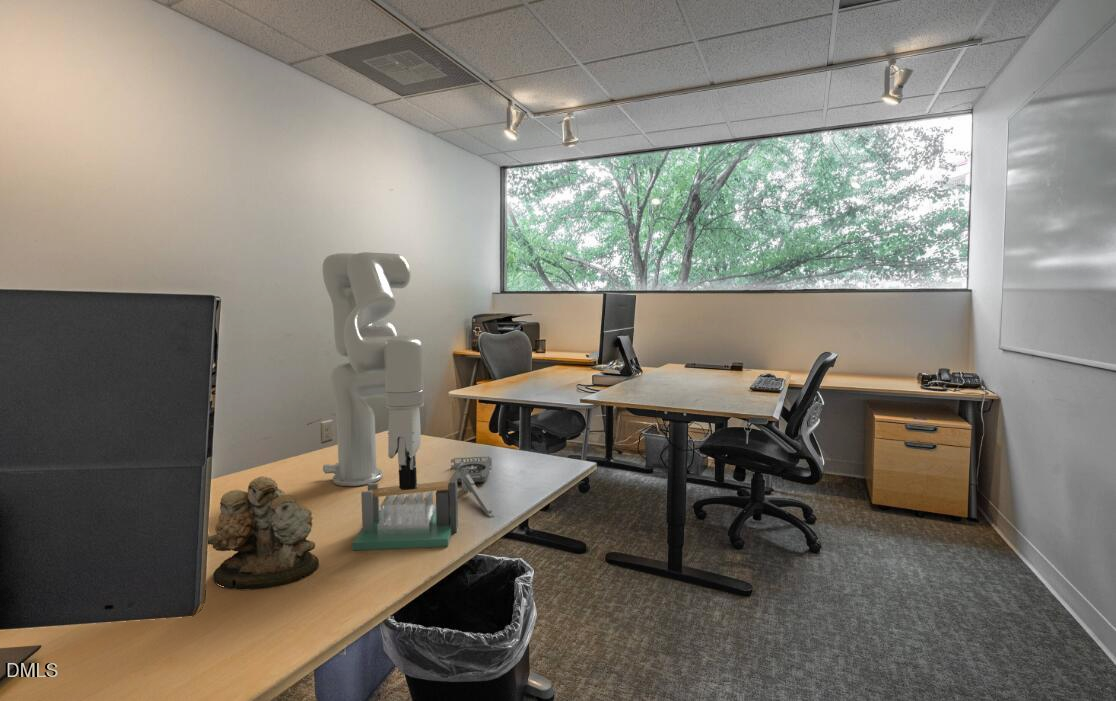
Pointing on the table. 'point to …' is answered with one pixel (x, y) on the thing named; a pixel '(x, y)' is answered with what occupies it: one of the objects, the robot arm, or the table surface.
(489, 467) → the graphics card
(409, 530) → the heat sink
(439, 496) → the lug
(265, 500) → the owl figurine
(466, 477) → the caliper
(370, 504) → the motherboard
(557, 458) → the table surface
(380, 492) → the strap
